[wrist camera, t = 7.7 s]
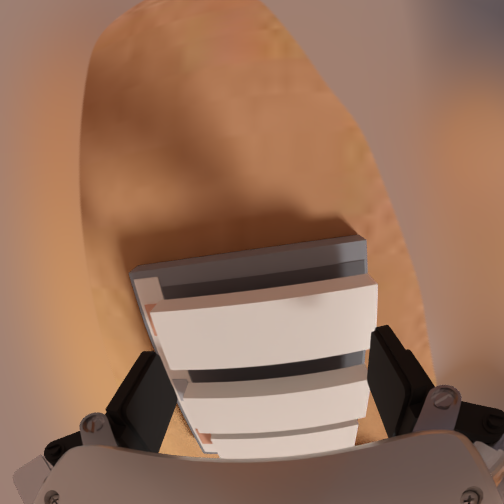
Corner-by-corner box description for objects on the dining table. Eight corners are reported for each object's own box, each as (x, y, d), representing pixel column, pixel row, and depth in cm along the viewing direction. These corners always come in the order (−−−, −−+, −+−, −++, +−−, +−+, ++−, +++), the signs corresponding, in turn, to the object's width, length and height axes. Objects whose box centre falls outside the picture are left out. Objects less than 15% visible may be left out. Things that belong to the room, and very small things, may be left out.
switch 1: (366, 333, 15) (374, 347, 14) (177, 354, 16) (170, 370, 15) (367, 273, 14) (377, 284, 13) (159, 300, 15) (149, 312, 14)
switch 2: (350, 435, 20) (353, 448, 18) (223, 448, 21) (221, 461, 19) (354, 411, 19) (358, 424, 17) (213, 425, 20) (210, 439, 18)
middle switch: (360, 402, 17) (365, 416, 15) (203, 418, 18) (199, 433, 17) (364, 363, 16) (371, 378, 14) (188, 382, 17) (182, 398, 16)
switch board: (351, 430, 22) (354, 442, 20) (206, 442, 23) (203, 454, 22) (358, 234, 17) (367, 240, 15) (138, 265, 18) (127, 273, 16)
